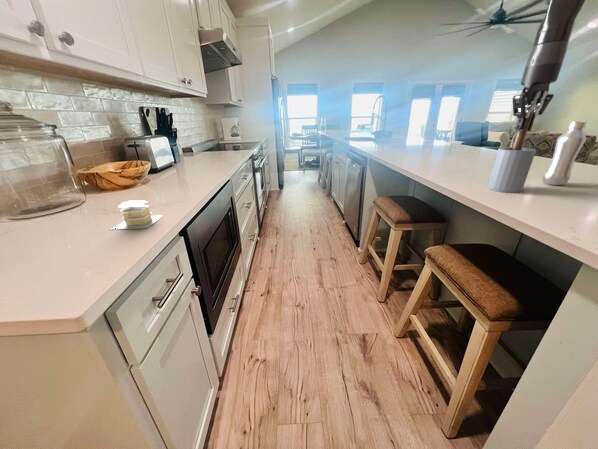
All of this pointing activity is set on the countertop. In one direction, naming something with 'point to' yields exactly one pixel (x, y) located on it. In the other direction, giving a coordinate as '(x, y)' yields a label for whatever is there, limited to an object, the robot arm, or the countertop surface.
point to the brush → (521, 136)
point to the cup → (511, 169)
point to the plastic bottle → (565, 154)
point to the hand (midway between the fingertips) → (522, 131)
